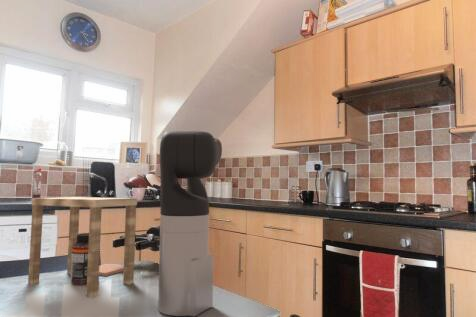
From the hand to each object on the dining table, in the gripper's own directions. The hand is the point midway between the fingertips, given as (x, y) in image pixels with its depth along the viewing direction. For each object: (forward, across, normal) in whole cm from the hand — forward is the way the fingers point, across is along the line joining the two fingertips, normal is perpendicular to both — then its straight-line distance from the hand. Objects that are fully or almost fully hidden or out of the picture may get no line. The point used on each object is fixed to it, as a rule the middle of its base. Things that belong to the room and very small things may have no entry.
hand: (124, 245), depth 91 cm
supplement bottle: (+12, 0, +7) cm, 14 cm away
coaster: (+2, -4, +7) cm, 8 cm away
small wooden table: (+13, 0, +7) cm, 15 cm away
